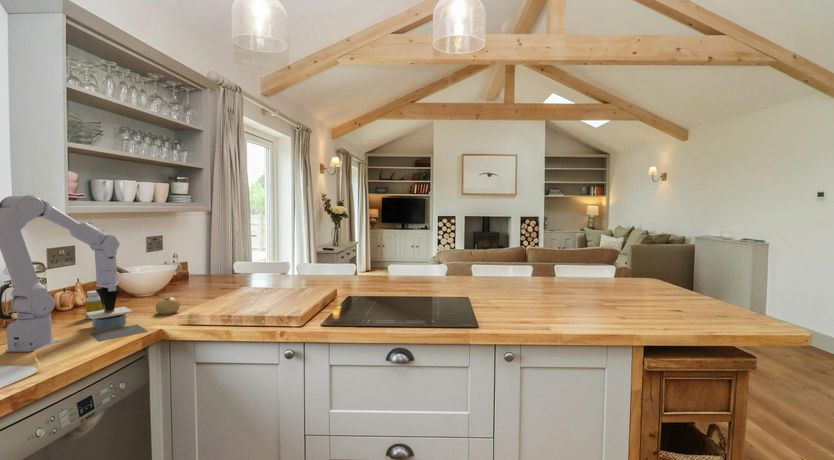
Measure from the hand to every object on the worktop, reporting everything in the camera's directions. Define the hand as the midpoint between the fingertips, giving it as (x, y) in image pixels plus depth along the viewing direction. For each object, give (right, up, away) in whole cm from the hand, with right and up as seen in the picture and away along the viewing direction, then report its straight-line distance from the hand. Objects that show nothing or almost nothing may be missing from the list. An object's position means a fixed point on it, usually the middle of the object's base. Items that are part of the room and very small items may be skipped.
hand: (108, 309), depth 143 cm
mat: (+9, -6, -8) cm, 14 cm away
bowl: (0, -6, 0) cm, 6 cm away
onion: (+10, -5, +17) cm, 20 cm away
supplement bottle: (-15, -6, +14) cm, 21 cm away
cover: (0, -1, 0) cm, 1 cm away
